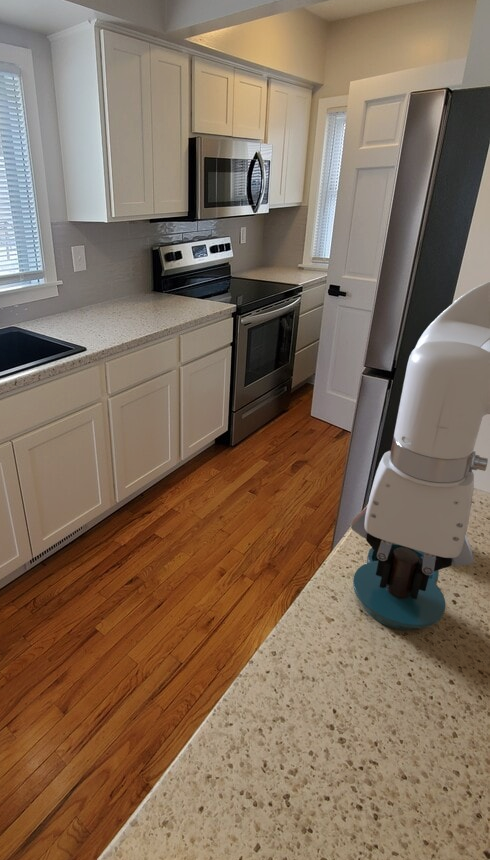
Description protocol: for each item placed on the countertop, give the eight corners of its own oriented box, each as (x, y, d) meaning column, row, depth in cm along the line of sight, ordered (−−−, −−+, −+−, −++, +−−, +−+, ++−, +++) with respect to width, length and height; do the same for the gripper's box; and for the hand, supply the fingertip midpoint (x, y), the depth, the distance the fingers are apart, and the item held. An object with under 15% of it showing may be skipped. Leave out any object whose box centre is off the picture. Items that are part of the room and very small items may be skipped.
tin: (429, 595, 78) (440, 554, 74) (424, 640, 70) (436, 597, 67) (366, 574, 82) (373, 534, 79) (355, 614, 75) (362, 572, 71)
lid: (445, 584, 62) (457, 543, 59) (441, 645, 54) (454, 602, 51) (360, 556, 67) (367, 518, 64) (344, 609, 59) (351, 567, 56)
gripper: (517, 459, 51) (475, 589, 59) (356, 426, 59) (337, 545, 66) (522, 495, 45) (475, 635, 53) (343, 454, 53) (324, 581, 61)
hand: (399, 584), depth 60 cm, fingers closed on lid, 2 cm apart
